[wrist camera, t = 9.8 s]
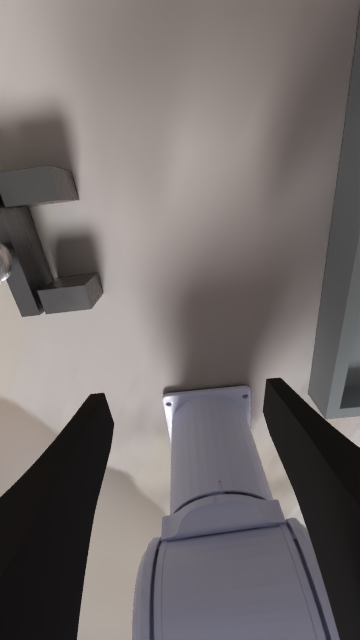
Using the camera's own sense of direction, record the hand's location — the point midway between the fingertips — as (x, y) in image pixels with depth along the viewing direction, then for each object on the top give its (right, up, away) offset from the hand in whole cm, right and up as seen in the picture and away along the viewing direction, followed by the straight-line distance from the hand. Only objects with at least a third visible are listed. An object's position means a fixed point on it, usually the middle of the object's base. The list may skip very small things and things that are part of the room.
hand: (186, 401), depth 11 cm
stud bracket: (-9, +9, +6) cm, 14 cm away
